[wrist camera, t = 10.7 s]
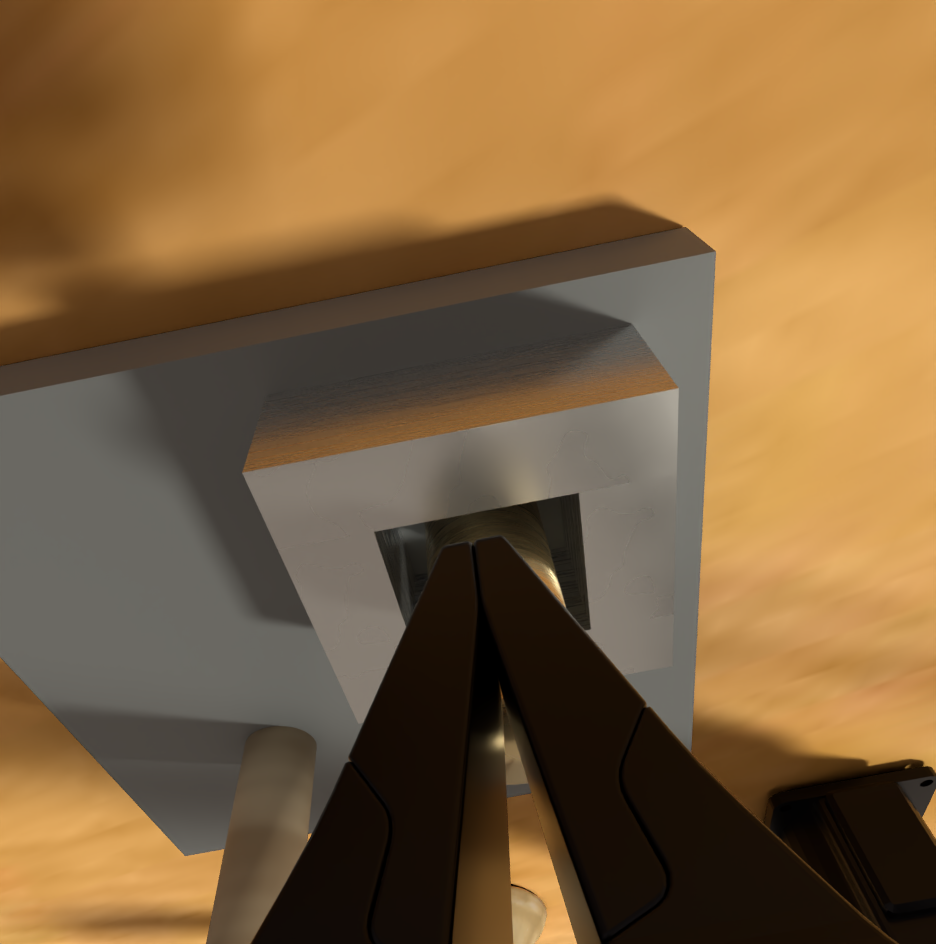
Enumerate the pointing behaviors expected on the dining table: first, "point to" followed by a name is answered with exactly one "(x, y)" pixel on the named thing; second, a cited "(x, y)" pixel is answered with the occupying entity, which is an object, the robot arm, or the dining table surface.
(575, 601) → the square hole block
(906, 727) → the dining table surface
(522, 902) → the hand bell
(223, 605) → the board
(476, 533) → the brass knobbed cylinder
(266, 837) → the stand rod
